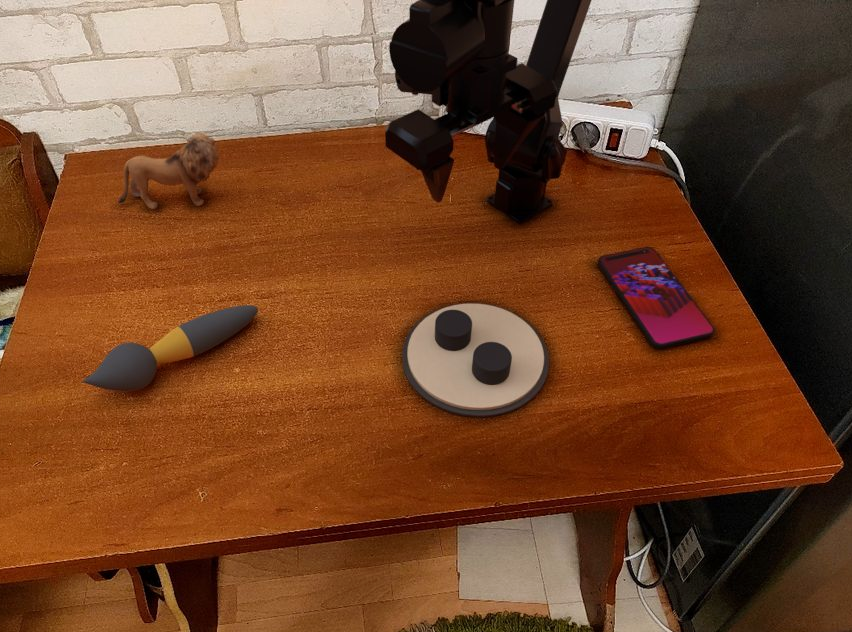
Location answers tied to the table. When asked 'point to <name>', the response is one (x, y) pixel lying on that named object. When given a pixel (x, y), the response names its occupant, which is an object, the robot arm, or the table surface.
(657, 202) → the table surface
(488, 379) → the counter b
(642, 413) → the table surface
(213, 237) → the table surface
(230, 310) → the paintbrush
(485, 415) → the face circle
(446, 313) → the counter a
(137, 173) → the lion figurine
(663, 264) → the smartphone
